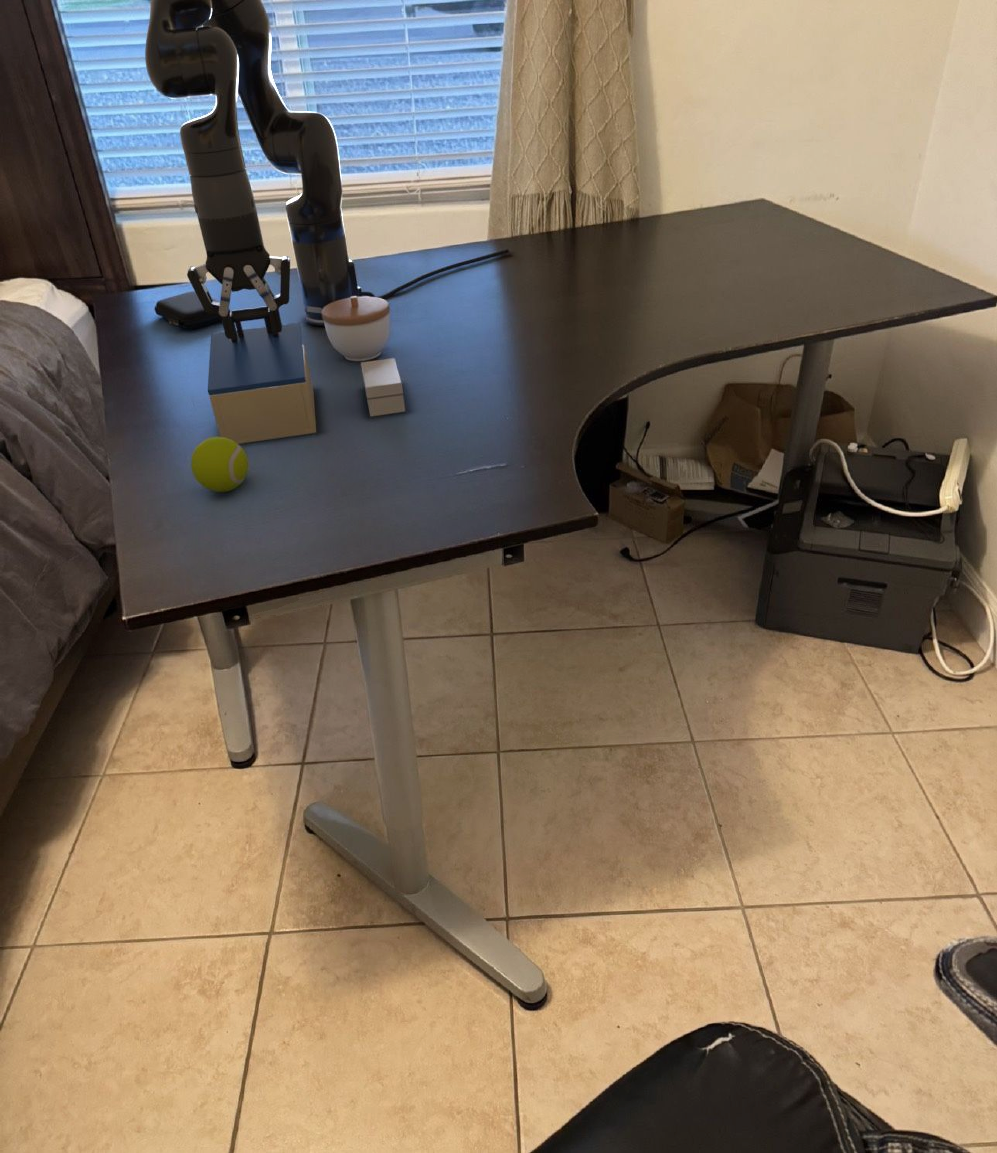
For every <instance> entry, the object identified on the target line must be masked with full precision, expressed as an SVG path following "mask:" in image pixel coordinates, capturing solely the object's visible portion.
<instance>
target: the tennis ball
mask: <svg viewBox="0 0 997 1153" xmlns="http://www.w3.org/2000/svg"><path fill="white" fill-rule="evenodd" d="M190 467H191V471H192V475H193V476H194V478H195V480H196V481H197V483H198V484H200V485H201V486H202V487H204V488H205V489H207V490H209V491H211V492H212V491H213V492H217V493H224V492H225V493H226V492H230V491H232V490H234V489H236V488H238V487H239V486H240V485H241V484H242V483H243V482H244V481H245V479H246V476H247V475H248V473H249V472H248V471H249V459H248V456H247V454H246V452H245V450H244V448H243V447H242V446H241V445H240V444H237V443H236V442H235V441H233V440H231V439H228V438H225V437H220V436H212V437H209V438H206V439H204V440H202V441H201V442H200V443H199V444H197V446H196V447H195V449H194V450H193V452H192V455H191V459H190Z"/></svg>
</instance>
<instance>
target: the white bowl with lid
mask: <svg viewBox="0 0 997 1153" xmlns="http://www.w3.org/2000/svg"><path fill="white" fill-rule="evenodd" d="M390 312H391V310H390V303H389V302H388V301H387V300H386V299H381V298H377V297H369V296H362V297H357V296H352V297H350V298H346V299H342V300H338V301H335V302H332V303H330V304H328V305H327V306H325V307H324V308H323V310H322V317H323V320H324V324H325V326H324V327H325V333H326V335H327V338H328V340H329V343H330V344H331V346H332V347H333V348H334V350H335V351H337V353H339V354H340V355H341V356H343V358H344V359H345V360H347V361H351V362H367V361H371V360H374V359H375V358H378V357H379V356H381V354H382V352H383V350H384V348H386V346H387V344H388V342H389V340H390V336H391V328H392V326H391V313H390Z"/></svg>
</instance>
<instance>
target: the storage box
mask: <svg viewBox="0 0 997 1153" xmlns="http://www.w3.org/2000/svg"><path fill="white" fill-rule="evenodd" d="M303 355H304V366H305V377H306V382H303V383H296V384H289V385H281V386H274V387H267V388H259V389H252V390H245V391H237V392H230V393H223V394H215V395H209V394H208V396H209V401H210V404H211V408H212V411H213V416H214V418H215V422H216V426H217V429H218V433H219V437H225V438H228V439H231V440H233V441H235V442H236V443H237V444H238V445H240V444H249V443H254V442H261V441H268V440H269V441H270V440H276V439H282V438H288V437H289V438H290V437H297V436H302V435H310V434H316V433H317V424H316V423H317V421H316V409H315V408H316V407H315V394H314V393H315V392H314V387H313V382H312V376H311V371H310V367H309V362H308V356H307V351H306V347H305V344H303Z"/></svg>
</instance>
